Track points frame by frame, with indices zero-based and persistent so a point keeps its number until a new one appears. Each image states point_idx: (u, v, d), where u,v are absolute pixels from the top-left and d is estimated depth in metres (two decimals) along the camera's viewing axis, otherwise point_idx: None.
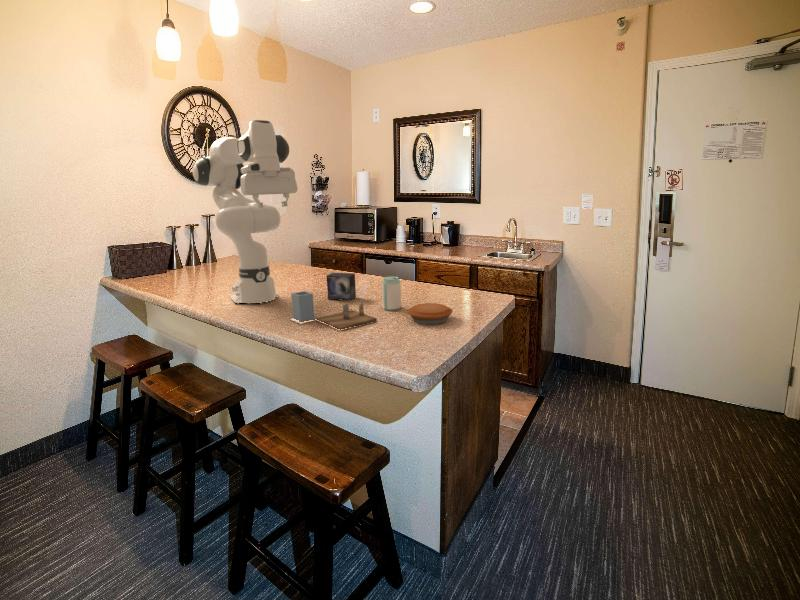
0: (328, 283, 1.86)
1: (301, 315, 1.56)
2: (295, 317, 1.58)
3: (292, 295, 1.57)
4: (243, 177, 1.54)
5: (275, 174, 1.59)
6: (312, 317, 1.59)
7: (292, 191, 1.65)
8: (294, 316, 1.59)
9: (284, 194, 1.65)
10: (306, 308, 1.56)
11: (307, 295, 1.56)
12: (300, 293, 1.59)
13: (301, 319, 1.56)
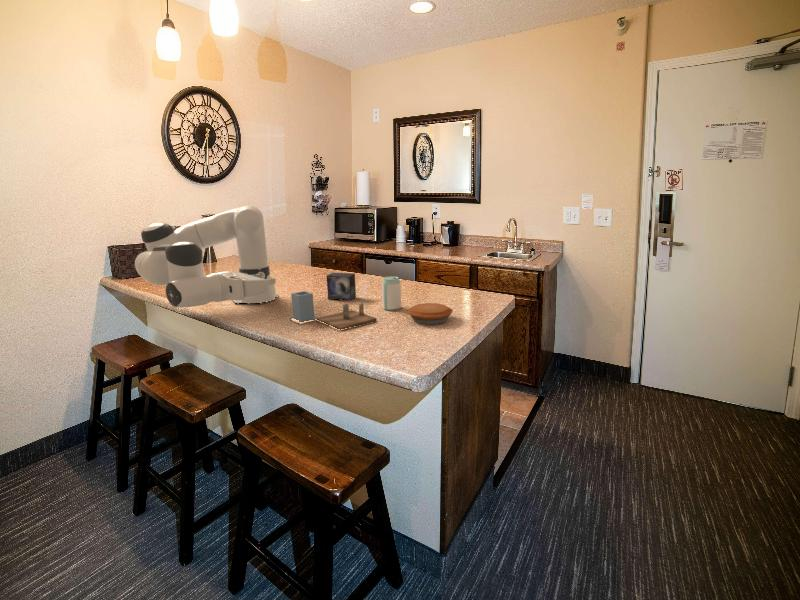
0: (328, 283, 1.86)
1: (301, 315, 1.56)
2: (295, 317, 1.58)
3: (292, 295, 1.57)
4: (250, 286, 1.33)
5: None
6: (312, 317, 1.59)
7: None
8: (294, 316, 1.59)
9: None
10: (306, 308, 1.56)
11: (307, 295, 1.56)
12: (300, 293, 1.59)
13: (301, 319, 1.56)
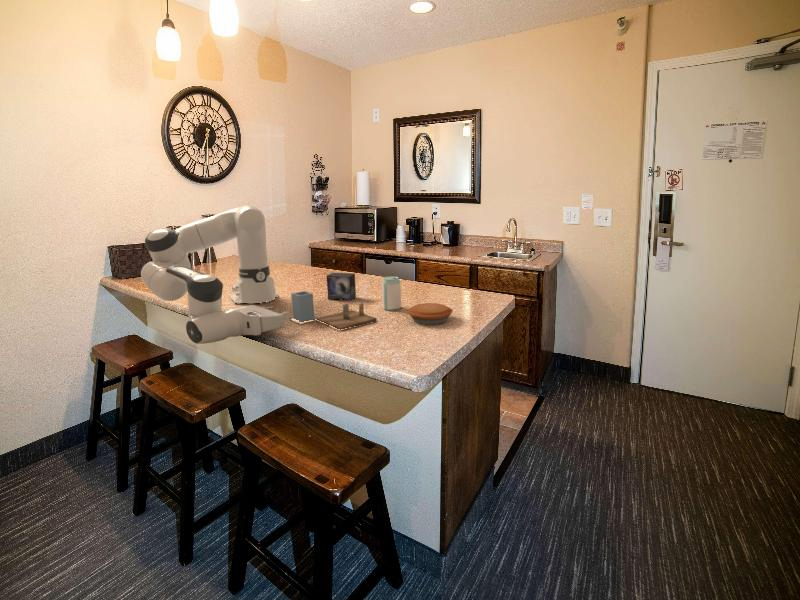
0: (328, 283, 1.86)
1: (301, 315, 1.56)
2: (295, 317, 1.58)
3: (292, 295, 1.57)
4: (267, 322, 1.38)
5: None
6: (312, 317, 1.59)
7: (255, 305, 1.54)
8: (294, 316, 1.59)
9: None
10: (306, 308, 1.56)
11: (307, 295, 1.56)
12: (300, 293, 1.59)
13: (301, 319, 1.56)
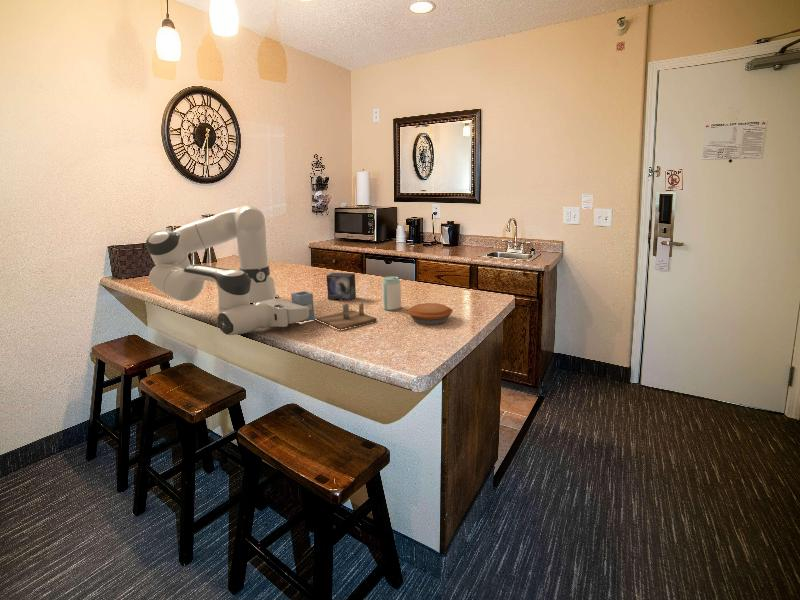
0: (328, 283, 1.86)
1: None
2: None
3: (292, 295, 1.57)
4: (293, 314, 1.45)
5: None
6: (312, 317, 1.59)
7: (280, 299, 1.60)
8: None
9: None
10: None
11: (307, 295, 1.56)
12: (300, 293, 1.59)
13: None
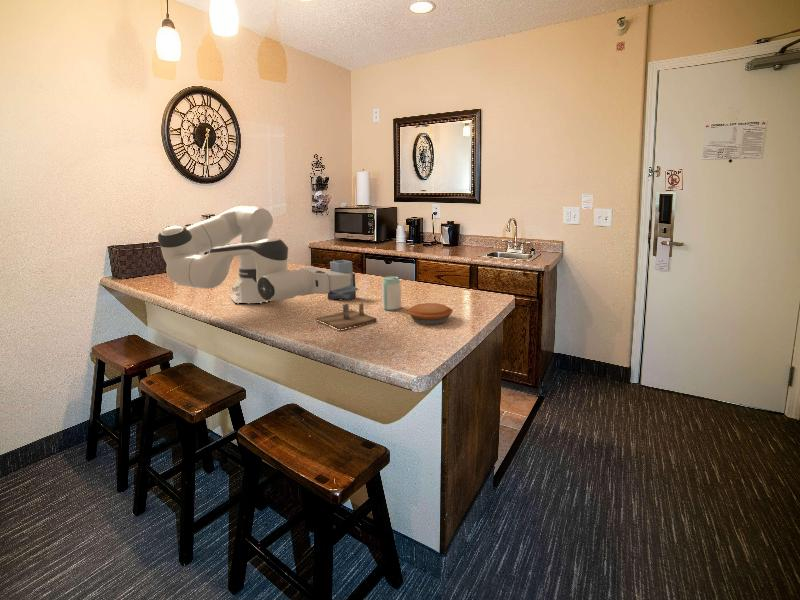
0: None
1: None
2: None
3: (331, 263, 1.51)
4: (335, 280, 1.39)
5: None
6: (351, 287, 1.53)
7: (318, 268, 1.54)
8: None
9: None
10: None
11: (347, 263, 1.50)
12: (339, 262, 1.53)
13: None
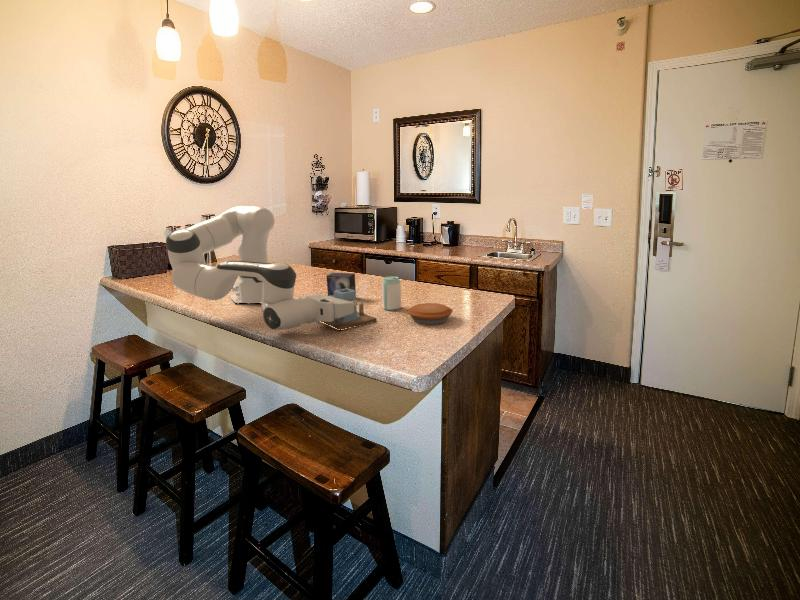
0: (328, 283, 1.86)
1: None
2: None
3: (335, 293, 1.54)
4: (339, 309, 1.42)
5: None
6: (355, 315, 1.56)
7: (321, 294, 1.57)
8: None
9: None
10: None
11: (350, 292, 1.53)
12: (342, 290, 1.56)
13: (344, 317, 1.53)
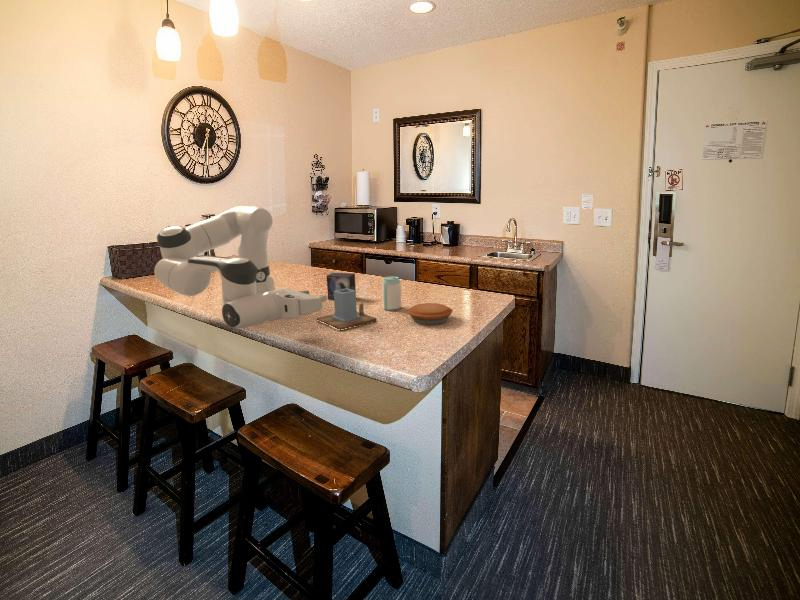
0: (328, 283, 1.86)
1: (344, 313, 1.53)
2: (337, 315, 1.55)
3: (335, 293, 1.54)
4: (305, 305, 1.32)
5: None
6: (355, 315, 1.56)
7: (289, 289, 1.47)
8: (336, 314, 1.56)
9: None
10: (349, 306, 1.53)
11: (350, 292, 1.53)
12: (342, 290, 1.56)
13: (344, 317, 1.53)
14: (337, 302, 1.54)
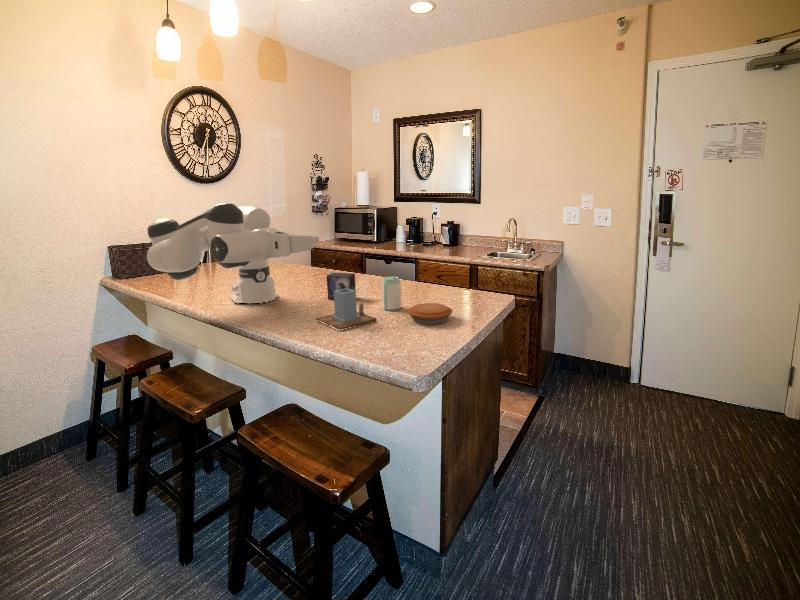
0: (328, 283, 1.86)
1: (344, 313, 1.53)
2: (337, 315, 1.55)
3: (335, 293, 1.54)
4: (296, 242, 1.28)
5: None
6: (355, 315, 1.56)
7: None
8: (336, 314, 1.56)
9: None
10: (349, 306, 1.53)
11: (350, 292, 1.53)
12: (342, 290, 1.56)
13: (344, 317, 1.53)
14: (337, 302, 1.54)
